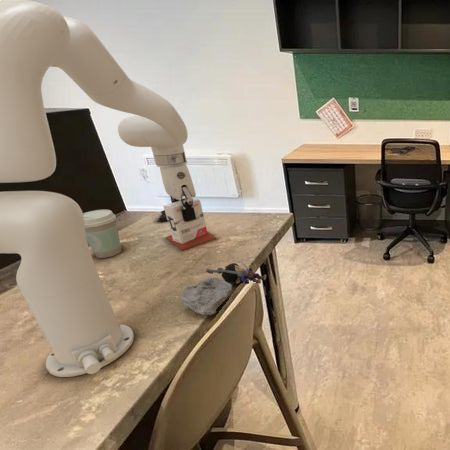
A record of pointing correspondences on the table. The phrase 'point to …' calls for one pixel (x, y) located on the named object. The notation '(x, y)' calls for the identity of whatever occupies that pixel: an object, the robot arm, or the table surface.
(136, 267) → the table surface
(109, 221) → the coffee cup
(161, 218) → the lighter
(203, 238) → the side mat
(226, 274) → the toy
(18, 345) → the table surface
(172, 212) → the ink box
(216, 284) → the stone
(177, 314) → the table surface
